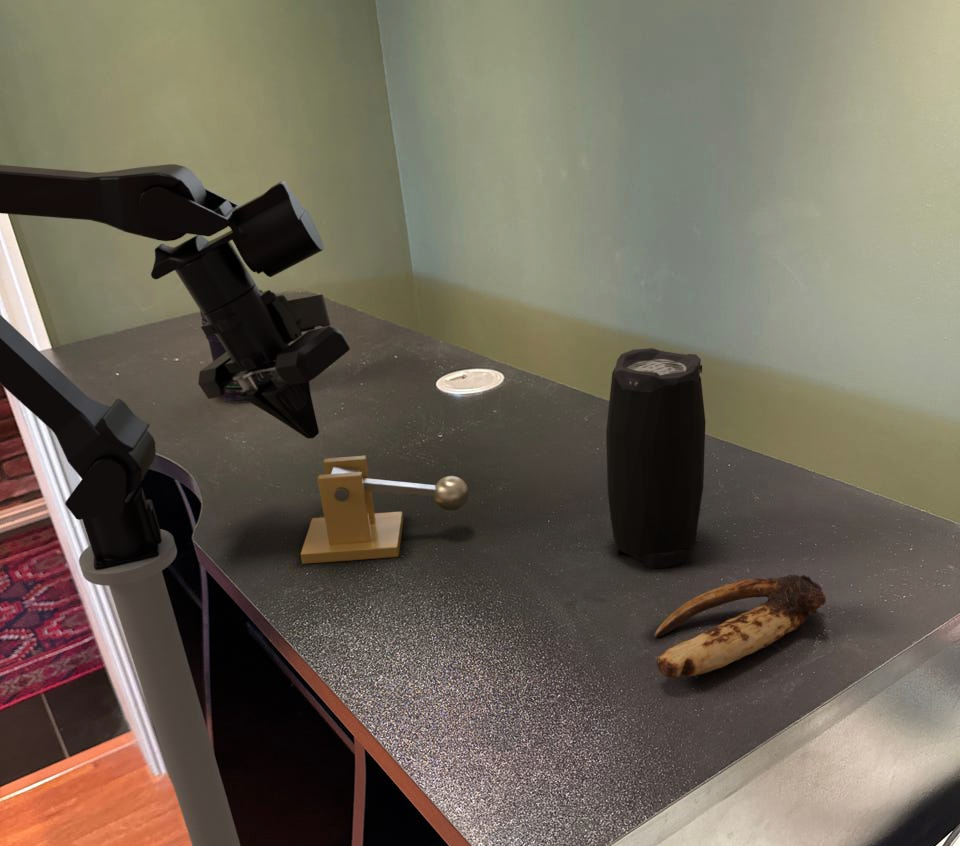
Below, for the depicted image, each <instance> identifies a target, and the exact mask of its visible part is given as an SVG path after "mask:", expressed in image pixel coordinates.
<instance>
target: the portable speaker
mask: <svg viewBox="0 0 960 846" xmlns="http://www.w3.org/2000/svg"><path fill="white" fill-rule="evenodd" d="M701 360H702V359H701V357H699V356H698V355H697V354H696V353H694V354H693V353H687V354H684V353H677V352H670V351H665V350H659V349H656V348H654V347H649V348H647V347H646V348H637V349H636V348H635V349H631V350H628V351H626V352H624V353H621V354H620V356H619V357H618V358H617V359H616V363H615V366H614V368H613V371H612V372H611V374H612V375H611V380H610V381H611V382H610V391H609V400H608V411H607V420H606V428H605V429H606V430H605V432H606V433H605V435H606V439H605V440H606V441H605V442H606V477H607V478H606V480H607V483H606V484H607V498H608V505H609V513H610V521H611V529H612V537H613V539H614V549H615V552H616V554H617V555H619V554H623V553H624V554H626V555H629V556H631V557H633V558H635V559H637V560H639V561H641V562H642V563H643V564H645V566H647V567H648V568H649V569H652V570H653V569H664V568H670V567H674V566H676V565H679V564H682V563H684V562H685V560H686V558H687V556H688V554H689V552H690V551H691V550H692V548H693V546H694V545H695V544H696V539H697V534H698V533H697V532H698V526H699V518H700V514H701V511H702V509H701V505H702V498H703V491H704V481H705V480H704V478H705V475H704V474H705V472H704V471H705V452H706V451H705V447H706V446H705V445H706V416H705V415H706V413H705V403H704V395H703V394H704V393H703V385H702V377H701V376H700V375H701V374H702V373H703V364H701Z"/></svg>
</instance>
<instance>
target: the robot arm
mask: <svg viewBox="0 0 960 846" xmlns="http://www.w3.org/2000/svg"><path fill="white" fill-rule="evenodd" d="M0 214H4V215H17V216H18V215H19V216H30V217H31V216H32V217H42V218H43V217H45V218H57V219H70V220H81V221H82V220H84V221H93V222H96V223H101V224H104V225H107V226H110V227H112V228H113V229H116V230H119V231H122V232H123V233H128V234H132V235H136V236H140V237H145V238H148V239H152V240H155V241H161V242H172V241H173V242H174V241H177V240H179V239H181V238H183V237H185V235H194V236H193V237H191V238H189V239H187V240H185V241H184V242H182V243H180V244H178V245H176V246H174V247H173V246H170V245H167V244H164V243H161V244H159V245H158V246H156V247H155V248H154V263H153V267H152V269H151V272H150V277H151V278H152V279H154V280H158V279H161V278H163V277H165V276H166V275H168V274H171V273H173V272H175V273H176V274H177V276H178V278H179V280H180V281H181V282H182V284H183V286H184V287H185V289H186V290H187V291H188V293H189V295H190V297H191V298H192V300H193V301H194V302H195V304H196V305H197V308H198V309H199V311H200V310H201V312H202V314H203V315H204V317H205V318H206V320H207V323H206V324H205V325H202V326H200V329H201V330H202V331H203V333H205V334H204V336H205V337H206V336H210V335H214V334H216V336H217V337H218V339H219V340H220V342H221V344H222V345H223V347H224V348H225V350H226V351H227V352H226V353H224V354H223V355H221V356H220V357H219V358H217V359H216V360H215V361H213V360H212V362H210V363H209V364H207V365H206V366H205V367H204V368H202V369H201V370H199V374H198V381H197V382H198V383H197V385H198V386H199V387H200V389H201V390H202V393H204V395H205V396H206V397H207V399H208V400H210V399H215V398H220V397H221V396H222V395H224V394H225V387H226V386H227V385H228V384H230V383H231V382H232V381H233V380H234V381H235V380H237V381H238V382H239V384H240V385H241V387H242V388H243V390H244V393H242V394H241V395H240V398H241V399H242V400H247V401H249V402H248V403H250V404H252V405H254V406H256V407H257V408H258V409H260V410H262V411H264V412H266V413H267V414H269V415H270V416H272V417H273V418H275V419H277V420H278V421H280V422H281V423H283V424H284V425H286V426H287V427H289V428H291V429H292V430H294V431H295V432H297V433H298V434H300V435H301V436H303V437H304V438H306V439H314V438H316V437H317V436H318V435H319V433H320V429H319V426H318V421H317V416H316V413H315V408H314V403H313V399H312V394H311V385H310V381H312V380H314V379H316V378H317V377H318V376H319V375H321V374H322V373H323V372H324V371H326V370H327V369H328V368H330V367H331V365H333V364H334V363H335V362H337V361H338V360H339V359H340V358H341V357H343V356H344V355H345V354H347V353H348V352H349V351H350V350H351V346H350V344H349V342H348V341H347V339H346V337H345V335H344V334H343V331H342V330H341V329H339V328H337V327H333V326H331V321H330V317H329V312H328V309H327V305H326V301H325V297H324V294H317V295H310V296H306V297H299V298H295V299H290V300H288V299H287V298H286V296H285V295H284V294H280V295H277V294H275V293H274V292H273V291H271V289H267V290H264V291H263V292H260V290H261V289H259V287H258V286H257V284H256V282H255V281H254V279H253V277H252V275H251V274H250V272H249V271H248V269H249V270H250V271H251V272H253V273H256V274H257V275H259V274H261V273H263V274H264V275H266V276H267V277H268V278H272V277H274V276H276V275H278V274H280V273H282V272H284V271H286V270H288V269H289V268H292V267H293V266H295V265H297V264H299V263H301V262H303V261H305V260H308V259H309V258H312V257H313V256H315V255H317V254H318V253H320V252H322V251H324V249H325V248H324V243H323V240H322V237H321V235H320V231H319V230H318V227H317V226H316V223H315V221H314V219H313V218H312V216H311V214H310V212H309V210H308V209H306V208H304V206H303V204H302V203H301V202H300V200H299V199H298V198H297V196H296V195H295V194H294V192H292V191H291V190H290V187H289V185H288V184H287V182H286V181H284V180H281V181H279V182H277V183H276V184H274V185H272V186H271V187H269V189H268V190H267V191H264V192H263V193H262V194H260V195H258V196H256V197H255V198H253V199H251V200H249V201H247V202H245V203H243V204H241V205H240V204H238V203H236V202H234V201H232V200H230V199H228V198H226V197H224V196H222V195H220V194H218V193H216V192H214V191H212V190H210V189H208V188H206V187H205V186H204V185H203V182H202V181H201V179H200V178H199V177H198V176H197V175H196V174H195V173H194V172H193V171H192V170H191V169H190V168H188V167H186V166H183V165H179V164H174V163H171V164H169V163H168V164H159V165H149V166H139V167H132V168H131V167H130V168H126V169H125V168H124V169H119V170H112V171H111V170H110V171H101V172H92V171H80V170H69V169H68V170H67V169H57V168H55V169H54V168H44V167H43V168H42V167H31V166H18V165H5V164H0ZM227 228H230V230H229V231H227V232H225V233H224V234H221V235H219V236H218V237H215V238H213V239H211V240H208V239H207V238H206V237H211V236H213V235H215V234H217V233H220V232H221V231H223V230H225V229H227ZM231 241H232V242H233V244H234V245H233V244H232V242H231ZM236 249H237V250H236ZM237 251H238V252H237ZM238 253H239V254H238ZM244 263H245V264H244ZM246 266H247V268H248V269H247V268H246ZM316 327H319V328H316ZM304 332H305V333H304ZM274 360H275V361H276V362H275V361H274ZM0 385H1V386H2V387H3V388H4V389H5V390H7V392H9V393H10V394H11V395H12V396H13V397H14V398H15V399H16V400H18V402H20V403H21V404H22V405H23V406H24V407H25V408H27V410H29V411H30V412H31V413H32V414H33V415H34V416H35V417H37V418H38V420H40V421H41V422H42V423H43V424H44V425H46V426H47V428H49V430H50V431H52V432H53V434H54V435H55V438H56V439H57V441H58V443H59V446H60V448H61V450H62V452H63V455H64V457H65V458H66V461H67V463H68V464H69V465H70V466H71V468H72V469H73V470H74V471H75V473H76V474H77V475H78V476H79V477H80V478H81V480H80V481H79V483H78V484H77V485H76V487H75V488H74V490H72V492H71V493H70V495H69V496H68V498H67V499H66V500H65V502H64V504H65V506H66V508H67V509H68V510H69V512H70V513H71V514H72V515H73V517H74V518H75V519H76V520H78V521H79V520H81V521H82V523H83V527H84V530H85V532H86V536H87V539H88V542H89V546H90V545H91V548H92V551H93V554H94V564H93V565H94V568H95V570H100V569H105V568H109V567H114V566H118V565H122V564H127V563H131V562H135V561H140V560H144V559H149V558H153V557H157V556H158V555H159V545H158V544H160V543H161V542H162V538H161V530H160V529H161V526H160V524H159V520H158V517H157V513H156V510H155V506H154V503H153V500H152V499H147V498H146V494H145V492H144V489H143V486H140V485H141V483H143V481H144V479H145V476H146V474H147V473H148V472H149V469H150V468H151V466H152V465H153V462H154V461H155V457H156V456H157V455H156V451H157V450H156V441H155V439H154V437H153V435H152V434H151V433H150V431H149V430H148V429H149V428H150V423H149V422H147V421H144V420H142V419H141V418H139V417H138V416H137V415H136V414H135V413H134V412H133V411H132V410H131V409H130V407H129V406H128V405H127V403H126V402H124V400H122V399H121V398H116V399H115V400H114V402H113V403H112V404H111V406H110V405H107V404H104V403H102V402H99V401H96V400H94V399H92V398H91V397H89V396H88V395H87V394H85V393H84V392H83V391H82V389H80V387H78V385H76V384H75V383H74V382H73V381H72V380H70V379H69V378H68V377H67V376H66V375H65V373H63V372H62V371H61V370H60V369H59V368H58V367H57V366H56V365H55V364H53V363H52V361H50V360H49V359H48V358H47V357H46V356H45V355H44V354H43V353H42V352H41V351H40V350H39V349H37V347H36V346H35V345H33V344H32V343H31V342H30V341H29V340H28V339H27V338H26V337H25V336H24V335H23V334H21V332H19V330H17V329H16V328H15V327H14V326H13V325H12V324H11V323H10V322H9V321H8V320H7V319H6V318H4V317H3V316H2V315H1V314H0Z"/></svg>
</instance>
